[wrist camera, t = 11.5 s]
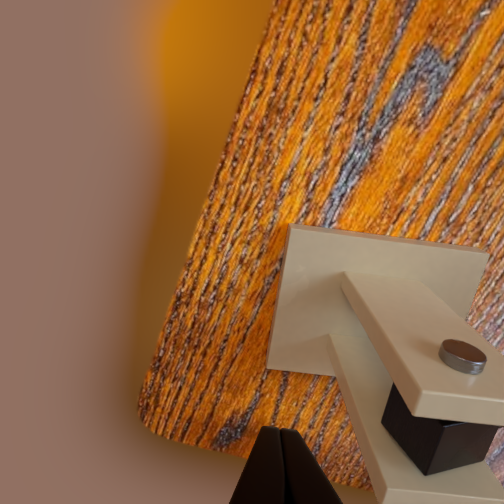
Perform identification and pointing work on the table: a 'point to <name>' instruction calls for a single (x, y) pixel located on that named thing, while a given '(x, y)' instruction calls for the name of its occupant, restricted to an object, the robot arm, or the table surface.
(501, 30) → the table surface
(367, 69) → the table surface
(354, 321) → the switch bracket
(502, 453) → the table surface
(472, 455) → the switch lever
